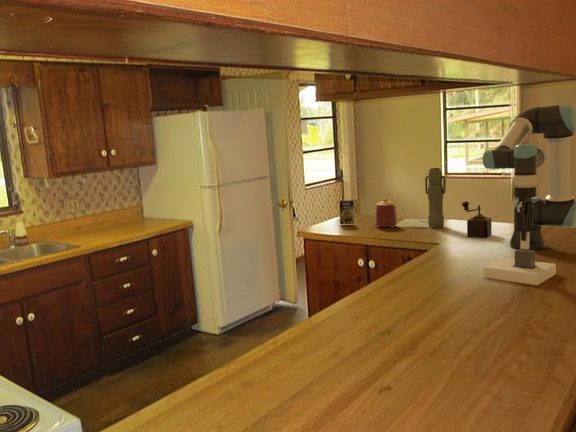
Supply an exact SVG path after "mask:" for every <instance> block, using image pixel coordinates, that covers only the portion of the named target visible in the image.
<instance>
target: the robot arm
mask: <svg viewBox="0 0 576 432" xmlns="http://www.w3.org/2000/svg"><path fill="white" fill-rule="evenodd" d="M574 133H576V109H575V107H574V106H573V105H571V104H556V105H547V106H546V105H545V106H535V107H531V108H528V109H526V110H524V111H522V112H520V113H519V114H518V115H517V116H515V117H514V118H513V119H512V121H511V122H510V124H509V127H508V130H507V131H506V132H505V134H504V136H503V137H502V138H501V139H500V141H499V142H498V144H497V145H496V146H495V148H493V149H492V148H491V149H486V150H484V152H483V155H482V165H483V167H484V168H485V169H492V170H496V169H498V170H499V169H500V170H501V169H502V170H503V169H514V171H513V172H514V175H513V176H514V177H513V178H512V179H513V180H514V186H515V187H514V189H513V196H514V197H515V198H518V199H516V200H515V201H514V204H513V205H514V208H513V227H514V228H513V233H512V235H511V239H510V241H509V247H510V248H512V249H516V250H518V249H524V250H533V251H536V250H542V249H545V248H546V241H545V238H544V235H543V231H542V226H545V227H546V226H547V227H561V228H564V227H565V228H566V227H567V228H568V227H569V228H570V227H573V226H574V225H576V200H575V196H574V195H573V194H572V193H571V152H570V148H571V147H570V146H571V145H570V141H571V139H572V138H573V137H574ZM536 134H537V135H542V134H543V135H542V136H543V139H544V140H545V141H546V142H547V156H546V153H545V151H544V150H543V149H541V148H538V147H537V145H536V144H533V143H528V144H527V143H525V144H522V143H523V142H524V140H525V138H528V137H529V136H530V135H536ZM546 161H547V169H548V170H547V173H548V194H547V195H546V196H545V197H544V198H545V199H544V200H543V198H542V197H541V196H537V187H536V186H537V182H538V181H537V176H538V175H537V169H538V168H540V167H541V166H543V165H544V164H545V162H546Z"/></svg>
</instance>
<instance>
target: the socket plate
mask: <svg viewBox="0 0 576 432" xmlns="http://www.w3.org/2000/svg"><path fill="white" fill-rule="evenodd" d="M482 274H483V278H487V279H493V280H500V281H507V282H508V281H509V282H514V283H520V284H527V285H534V286H538V285H540V284H541V283H543V282H545V281H547V280H549V279H550V278H553V276H555V275H556V274H557V264H556V263H549V262H543V261H542V262H541V261H535V268H534V269H527V268H519V267H515V258H508V257H502V258H499V259H498V260H496V261H494V262H492V263H490V264H487V265H485V266H483V273H482Z"/></svg>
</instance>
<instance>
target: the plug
mask: <svg viewBox="0 0 576 432" xmlns="http://www.w3.org/2000/svg"><path fill="white" fill-rule="evenodd" d="M514 259H515V267H519V268H527V269H534V268H535V262H536V250H524V249H516V250H514Z"/></svg>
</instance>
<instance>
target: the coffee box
mask: <svg viewBox="0 0 576 432" xmlns="http://www.w3.org/2000/svg"><path fill="white" fill-rule="evenodd" d="M354 223H355V200H354V199H344V200H342V199H340V200H339V225H340V224H354Z"/></svg>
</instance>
